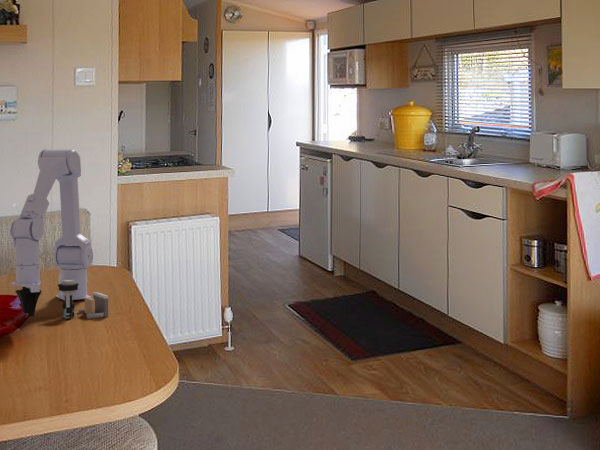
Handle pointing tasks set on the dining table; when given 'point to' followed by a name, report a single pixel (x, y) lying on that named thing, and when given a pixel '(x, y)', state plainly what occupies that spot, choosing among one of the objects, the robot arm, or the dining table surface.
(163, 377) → the dining table surface
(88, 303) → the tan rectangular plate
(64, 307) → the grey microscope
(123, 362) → the dining table surface
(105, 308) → the grey l-shaped bracket
